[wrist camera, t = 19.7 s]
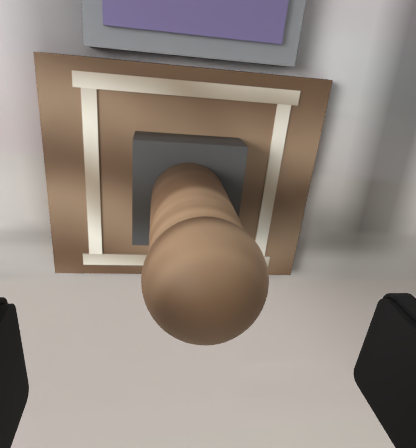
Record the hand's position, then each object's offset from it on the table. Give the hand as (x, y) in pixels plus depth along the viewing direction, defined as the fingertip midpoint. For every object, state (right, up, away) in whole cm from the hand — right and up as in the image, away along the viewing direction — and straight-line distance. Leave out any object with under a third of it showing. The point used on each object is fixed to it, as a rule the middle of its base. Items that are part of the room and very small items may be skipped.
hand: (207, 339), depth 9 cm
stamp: (-1, +5, +13) cm, 14 cm away
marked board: (-1, +6, +13) cm, 15 cm away
